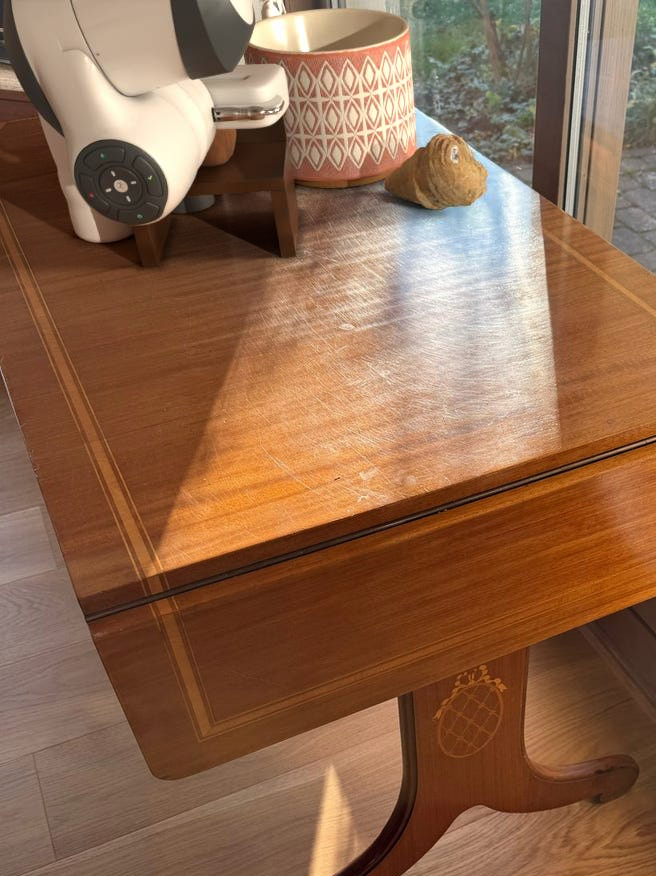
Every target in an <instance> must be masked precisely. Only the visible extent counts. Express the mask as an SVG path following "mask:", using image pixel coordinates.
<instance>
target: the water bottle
mask: <svg viewBox="0 0 656 876" xmlns="http://www.w3.org/2000/svg"><path fill="white" fill-rule="evenodd" d="M36 111H37V110H36ZM37 114H38V119H39V121H40V125H41V127H42V131H43V134H44V136H45V140H46V142H47V145H48V148H49V151H50V153H51V156H52V158H53V161H54V163H55V166H56V168H57V177H58V181H59V184H60V187H61V191H62V193H63V196H64V197H65V199H66V202H67V205H68V206H67V207H68V213H69V217H70V220H71V224H72V226H73V229H74V232H75V234H76V235H77V236H78V237H79V238H80V239H82V240H83V241H86V242H90V243H95V244H96V243H97V244H101V243H102V244H104V243H105V244H106V243H113V242H117V241H122V240H125V239H127V238H130V237H131V236H132V235H134V232H133V229H132V225H125V224H120V223H117V222H114V221H112V220H109V219H107V218H105V217H103V216H101V215H100V214H98V213H97V212H95V211H94V210H93V209H92V208H91V207H89V206H88V205H87V204H86V202H85V201H84V200H83V199H82V197H81V196H80V194H79V192H78V191H77V189H76V187H75V185H74V183H73V180H72V177H71V174H70V169H69V161H68V150H67V144H66V140H65V138H64V137H63V136H61V135H60V134H59V133H58V132H57V131H56V130H55V129H54V128H53V127H52V126H51V125H50V124H49V123H48V122H46V121H45V120H44V118H43V117H42V116H41V115H40V113H39V112H38V111H37Z"/></svg>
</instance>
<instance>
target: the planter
mask: <svg viewBox="0 0 656 876" xmlns="http://www.w3.org/2000/svg"><path fill="white" fill-rule="evenodd" d="M410 35H411V33H410V25H409V23H408V21H407V20H406V19H405V18H403V17H402V16H399V15H397V14H394V13H391V12H386V11H383V10H377V9H376V10H375V9H368V8H367V9H366V8H351V7H347V8H346V7H342V8H341V7H337V8H335V7H334V8H333V7H332V8H317V9H306V10H298V11H293V12H286V14H284V13H281V15H277V16H273V17H269V18H266V19H263V20H262V19H261V20H258V21H255V27H254V30H253V34H252V37H251V39H250V42H249V44H248V47H247V49H246V51H245V53H244V55H243V59H244V65H251V64H277V65H279V66H281V67H283V68H284V70H285V74H286V80H287V86H288V94H289V106H288V108H287V110H286V111H285V113H284V119H285V125H286V132H287V139H288V145H289V152H290V158H291V165H292V171H293V178H294V184H297V185H301V186H305V187H312V188H321V189H340V188H341V189H342V188H350V187H351V188H352V187H357V186H364V185H368V184H373V183H375V182H378V181H382V180H385V179H386V178H387V177H388V175H389V174H391V173H392V172H393V171H394V170H395V169H396V168H398V167H400V166H401V165H402V163H403V162H404V161H405V160H407V159H408V158H410V157H411V156H412V155H413V154H414V152H415V151H416V150H417V149H418V140H417V125H416V124H417V123H416V110H415V96H414V95H415V94H414V80H413V79H414V78H413V66H412V50H411V49H412V48H411V36H410Z"/></svg>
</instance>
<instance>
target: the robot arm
mask: <svg viewBox="0 0 656 876" xmlns="http://www.w3.org/2000/svg"><path fill="white" fill-rule="evenodd" d="M255 22H256V13H255V8H254V4H253V1H252V0H4V2H3V13H2V37H3V44H4V49H5V53H6V55H7V58H8V61H9V63H10V64H9V65H10V66H11V68H12V70H13V73H14V75H15V76H16V79H17V81H18V82H19V83H18V84H20V86H21V88H22V90H23V92H24V93H25V95H26V97H27V98H28V100H29V101H30V103H31V104H32V105H33V107H34V108H35V110H36V111H38V112H39V113H40V115H41V116H42V117H43V118H44V120H45V121H46V122H48V123H49V124H50V125H51V126H52V127H53V128H54V129H55V130H56V131H57V132H58V133H59V134H60V135H61V136H63V137H64V138H65V140H66V144H67V150H68V161H69V169H70V174H71V177H72V180H73V183H74V185H75V187H76V189H77V191H78V192H79V194H80V196H81V197H82V199H83V200H84V201H85V202H86V204H87V205H88V206H89V207H91V208H92V209H93V210H94V211H95V212H97V213H98V214H100V215H101V216H103V217H105V218H107V219H109V220H112V221H114V222H117V223H120V224H125V225H132V226H140V225H147V224H152V223H154V222H157V221H159V220H161V219H162V218H164V217H165V216H167V215H168V214H170V213H172V212H171V211H172V210H173V209H174V208H175V207H176V206H177V205H178V204H179V203H180V202H181V201H182V199H183V198H184V197H185V195H186V194H187V192H188V190H189V189H190V187H191V185H192V183H193V181H194V178H195V176H196V173H197V170H198V168H199V167H200V166H201V164H202V162H203V160H204V158H205V156H206V154H207V152H208V150H209V148H210V146H211V144H212V142H213V140H214V137H215V133H216V130H224V129H253V128H262V127H267V126H270V125H272V124H274V123H275V122H277V121H278V120H279V119H280V118H281V116H282V115H283V114H284V113H285V111H286V110H287V108H288V106H289V94H288V86H287V80H286V74H285V70H284V68H283V67H281V66H279V65H277V64H251V65H245V64H239V63H240V61H241V60H242V58H243V57H244V53H245V51H246V49H247V47H248V44H249V42H250V39H251V37H252V34H253V30H254V27H255ZM38 112H37V113H38Z"/></svg>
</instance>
